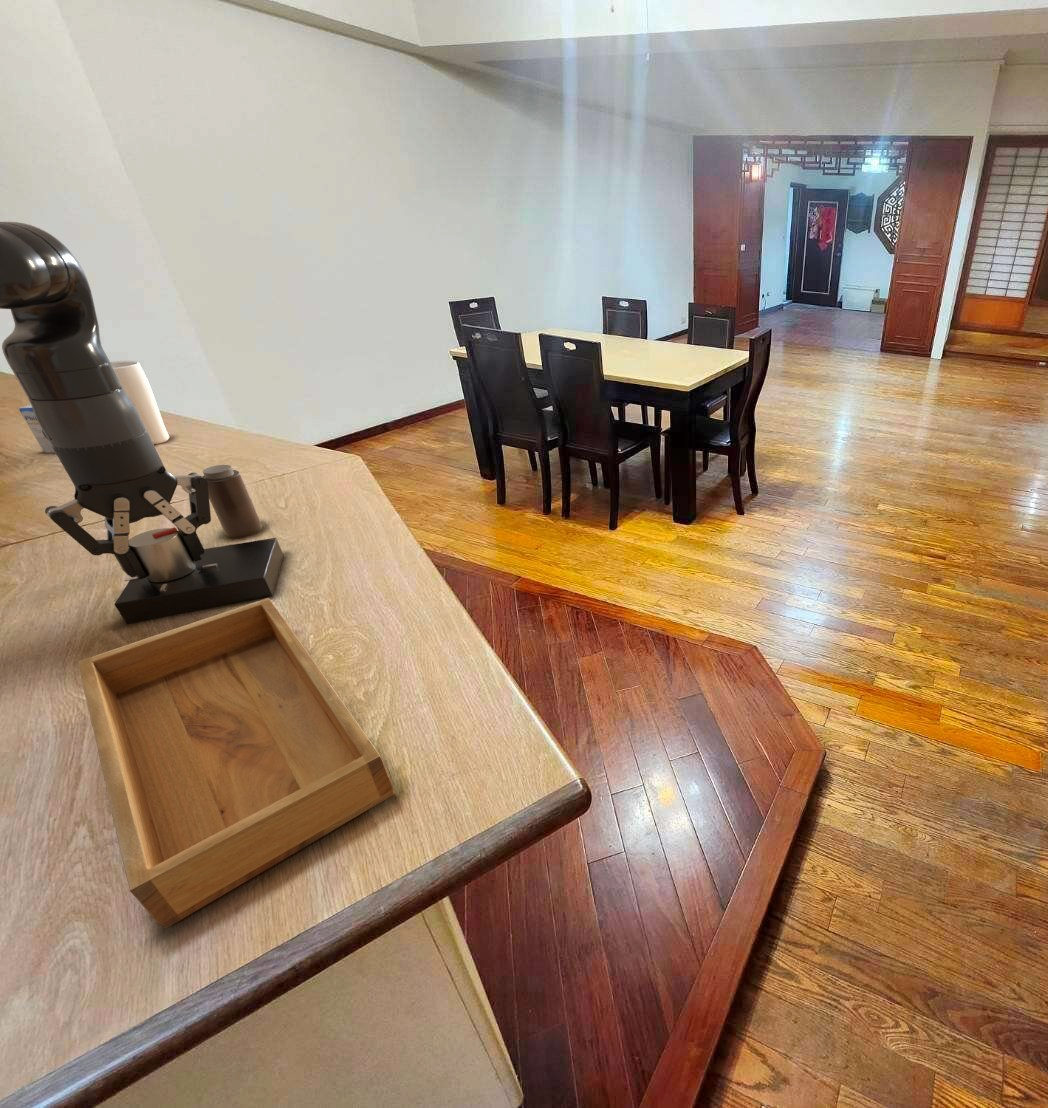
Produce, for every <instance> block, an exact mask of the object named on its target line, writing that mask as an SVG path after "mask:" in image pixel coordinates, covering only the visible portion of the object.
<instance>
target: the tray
mask: <svg viewBox="0 0 1048 1108" xmlns="http://www.w3.org/2000/svg"><path fill="white" fill-rule="evenodd" d="M77 665H78V670H79V674H80V679H81V683H82V687H83V693H84V696H85V701H86V704H87V709H88V713H89V719H90V722H91V726H92V730H93V735H94V738H95V743H96V748H97V752H98V756H99V760H100V764H101V769H102V773H103V778H104V782H105V787H106V788H105V789H106V792H107V797H108V802H109V805H110V810H111V814H112V818H113V823H114V824H113V825H114V827H115V833H116V837H117V842H118V846H119V851H120V855H121V858H122V863H123V868H124V872H125V877H126V880H127V885H128V890H129V892H130V893H131V894H132V895H133V896H134V898H136V900H137V901H138V902H139V903H140V904H141V906H142V907H143V908H144V909H145V910H146V912H147V913H148V914H149V915H150V916H151V917H152V918H153V920H155V922H156V923H157V924H160V925H161V926H162V927H163V928H165V929H167V928H169V927H172V926H174V925H175V924H177V923H178V922H180V921H181V920H183V919H184V918H186V917H188V916H190V915H191V914H193V913H195V912H197V911H198V910H200V909H201V908H204V907H205V906H207V905H209V904H210V903H213V902H214V901H215V900H217V899H220V897H222V896H224V895H226V894H227V893H229V892H231V891H232V890H234V889H236V888H238V887H239V886H241V885H242V884H243V885H244V883H246V882H248V881H250V880H251V879H253V878H255V877H256V876H258V875H260V874H262V873H263V872H264V871H266V870H268V869H270V868H272V867H273V866H275V865H276V864H278V863H280V862H282V861H284V860H285V859H287V858H289V857H291V856H292V855H295V853H297V852H299V851H300V850H302V849H304V848H306V847H307V846H309V845H311V844H312V843H314V842H316V841H318V840H320V839H321V838H323V837H324V836H326V835H328V834H329V833H331V832H333V831H334V830H336V829H338V828H339V827H342V826H344V824H346V823H348V822H350V821H351V820H353V819H355V818H357V817H358V816H360V815H362V814H364V813H365V812H367V811H368V810H371V809H372V808H374V807H375V806H377V805H379V804H380V803H382V802H384V801H385V800H387V799H389V798H391V797H393V796H394V795H395V790H394V787H393V784H392V783H393V782H392V780H391V778H390V776H389V774H388V770H387V768H386V765H385V763H384V760H383V759H382V756H381V754H380V753H379V752H378V750H377V748H376V747H375V745H374V744H373V743H372V741H371V740H370V738H369V737H368V736H367V734H366V733H365V731H364V730H363V729H362V727H361V726H360V724H359V723H358V721H357V720H356V718H355V717H354V716H353V714H352V712H351V711H350V710H349V708H348V707H347V706H346V704H345V703H344V701H343V700H342V698H341V697H340V695H338V693H337V691H336V690H335V689H334V688H333V686H332V685H331V683H330V682H329V680H328V679H327V678H326V676H325V674H324V673H323V672H322V670H321V668H319V666H318V665H317V663H316V662H315V660H314V659H313V658H312V656H311V654H310V653H309V652H308V650H307V649H306V648H305V646H304V645H303V643H302V642H301V641H300V639H299V637H298V636H297V635H296V633H295V632H294V630H293V629H292V627H291V626H290V625H289V623H288V622H287V620H286V618H284V617H283V615H282V614H281V613H280V611H279V610H278V608H277V607H276V605H275V604H274V603H273V601H272V599H270V597H267V598H262V599H259V600H256V601H255V602H251V603H248V604H245V605H242V606H239V607H236V608H233V609H230V610H227V611H223V612H221V613H218V614H215V615H212V616H209V617H206V618H203V619H199V620H196V621H194V622H190V623H188V624H185V625H182V626H179V627H176V628H173V629H170V630H167V631H164V632H161V633H158V634H155V635H152V636H149V637H146V638H143V639H141V640H138V641H135V642H131V643H129V644H125V645H122V646H119V647H117V648H113V649H110V650H108V651H105V652H101V653H98V654H95V655H93V656H90V657H86V658H84V659H81V660H79V661H77Z"/></svg>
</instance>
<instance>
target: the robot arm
mask: <svg viewBox="0 0 1048 1108" xmlns="http://www.w3.org/2000/svg"><path fill="white" fill-rule="evenodd" d="M91 289H92V288H91V287H90V283H89V281H88V278H87V275H86V274H85V271H84V269H83V267H82V265H81V264H80V262H79V261H78V259H77V258H76V257H75V256H74V254H73V253H72V252H71V250H69V248H68V247H67V246H66V245H65V244H64V243H63V242H62V241H61V240H59V239H58V238H57V237H55V236H54V235H53V234H51V233H49V232H48V231H46V230H44V229H42V228H40V227H37V226H35V225H32V224H28V223H23V222H18V221H0V310H10V312H11V316H12V319H13V321H14V327H13V330H12V332H11V333H10V334H9V335H8V336H6V338H5V339H4V340H3V341H2V343H1V351H2V354H3V356H4V358H5V360H6V362H7V364H8V366H9V368H10V370H11V371H12V373H13V374H14V377H15V378H16V380H17V381H18V383H19V385H20V387H21V389H22V391H23V392H24V394H25V395H26V397H27V399H28V401H29V403H30V404H31V406H32V408H33V411H34V414H35V417H36V419H37V421H38V423H39V425H40V427H41V428H42V433H43V435H44V436H45V438H46V439H47V440H48V441H49V442H50V444H51V446H52V448H53V449H54V451H55V453H54V454H55V455H56V457H57V458H58V460H59V461H60V463H61V465H62V467H63V469H64V471H65V472H66V474H67V475H68V477H69V479H70V481H71V482H72V484H73V486H74V495H73V497H74V499H72V500H70V501H68V502H66V503H64V504H61V505H59V506H56V505H50V506H48V507H46V508H45V510H44V512H45V514H46V515H47V517H49V519H51V521H52V522H54V523H55V525H57V526H58V527H59V528H60V529H62V530H63V531H64V532H65V533H66V534H67V535H68V536H69V537H71V538H72V539H73V540H74V541H76V542H77V543H78V544H79V545H80V546H82V547H83V548H84V549H85V550H86V551H87V552H88V553H90V554H91V555H93V556H101V555H105V554H111V555H113V556H114V557H115V559H116V561H117V563H118V564H119V566H120V568H121V569H122V571H123V572H124V573H125V574H126V575H127V576H129V578H132V577H134V576H136V577H137V578H138V579H139V580H140V579H143V578H146V577H147V576H146V574H145V572H144V570H143V569H142V567H141V565H140V563H139V561H138V560H137V558H136V556H135V554H134V552H133V551H132V550H131V549H130V548H129V539H130V538H129V535H130V533H131V531H130V524H133V523H134V524H135V523H137V522H139V521H141V520H143V519H146V518H156V517H158V516H159V517H160V516H164V517H165V518H166V519H167V520H168V521H170V523H172V524H173V525H174V526H175V528H176V529H177V531H178V532H179V534H180V536H181V538H182V540H183V542H184V544H185V546H186V548H187V550H188V552H189V554H190V555H191V557H192V559H193V561H194V562H195V561H198V560H201V557H200V555H202V554H204V549H205V548H204V546H203V544H202V542H201V539H200V538H199V536H198V534H197V529H198V528H199V527H201V526H203V525H208V524H209V523H211V521H212V514H211V502H210V500H209V492H208V481H207V480H206V479H205V478H204V477H202V476H203V475H201V474H199V473H197V472H190V473H188V475H186V474H185V475H184V474H183V475H174V474H172V473H171V472H169V471H168V470H167V469H166V467H165V465H164V463H163V461H162V459H161V457H160V455H159V453H158V450H157V448H156V447H155V444H153V442H152V440H151V438H150V436H149V434H148V432H147V430H146V428H145V426H144V424H143V422H142V420H141V418H140V416H139V413H138V411H137V409H136V408H135V406H134V404H133V403H132V401H131V400H130V398H129V397H128V395H127V394H126V392H125V391H124V389H123V387H122V385H121V383H120V381H119V379H118V377H117V375H116V373H115V371H114V369H113V367H112V365H111V363H110V362H111V361H110V359H109V357H108V356H107V353H106V351H105V350H104V347H103V346H102V341H101V335H100V326H99V325H100V324H99V321H98V315H97V312H96V307H95V303H94V298H93V297H94V296H93V293H92V290H91ZM177 486H180V487H181V489H182V490H183V491H184V492H185V493H187V494H188V499H189V500H188V501H189V508H190V509H189V510H190V514H188V515H186V516H184V515H183V514H181V513H180V512H179V511H178V510H177V509H176V508H175V507H174V506H173V505H171V502H172V499H173V496H174V494H175V491H176V489H177ZM83 509H85V510H87V511H90V512H92V513H95V514H97V515H100V516H101V517H103V518H104V526H105V530H106V539H96V538H95V537H94V536H93V535H91V534H90V533H89V532H88V531H87V530H86V529H84V527H82V526H81V525H80V523H82V521H83V520H84V517H83V516H82V514H81V511H82V510H83Z"/></svg>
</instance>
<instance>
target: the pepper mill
mask: <svg viewBox="0 0 1048 1108" xmlns="http://www.w3.org/2000/svg"><path fill="white" fill-rule="evenodd" d="M202 474H203V475H201V476H202V477H204V478H205V479H206V480H207V481H208V492H209V503H210V505H211V506H212V509H213V510H214V513H215V515H216V517H217V520H218V521H219V523H220V525H221V527H222V530H223V533H224V534H225V536H226V537H227V538H230V539H239V538H240V539H241V538H245V537H249V536H253V535H255V534H257V533H259V532H260V531H262V530H263V528H264V527H263V524H262V522H261V520H260V518H259V515H258V513H257V511H256V508H255V506H254V503H253V500H252V499H251V496H250V494H249V492H248V489H247V487H246V485H245V484H246V483H244V479H243V477H242V475H241V473H240V471H239V470H237V469H233V467H232V465H229V464H217V465H212V466H208V467H205V469H204V468H203V470H202Z"/></svg>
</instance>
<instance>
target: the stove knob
mask: <svg viewBox="0 0 1048 1108" xmlns="http://www.w3.org/2000/svg"><path fill="white" fill-rule="evenodd" d="M128 539H129V548H130V549H131V550H132V551H133V552H134V554H135V556H136V558H137V560H138V561H139V563H140V565H141V567H142V569H143V570H144V572H145V574H146V576H147V577H146V578H147V580H148V581H150V582H167V581H171V580H175V579H178V578H181V577H184V576H186V575H188V574H190V573H191V572H192V571H193V570H194V569H195V568H196V565H195V563H194V561H193V559H192V557H191V555H190V554H189V552H188V550H187V548H186V546H185V544H184V542H183V540H182V538H181V536H180V534H179V532H178V529H177V527H176V526H175V527H162V528H155V529H150V530H147V531H143V532H140V533H138V534H136V535H134V536H131V538H128Z"/></svg>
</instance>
